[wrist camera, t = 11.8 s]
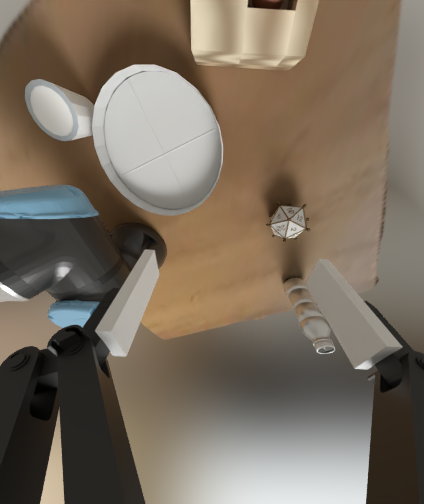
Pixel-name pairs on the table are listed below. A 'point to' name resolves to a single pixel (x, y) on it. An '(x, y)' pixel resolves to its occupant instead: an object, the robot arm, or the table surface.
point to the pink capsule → (267, 4)
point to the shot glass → (59, 110)
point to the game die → (288, 221)
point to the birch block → (250, 33)
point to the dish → (157, 139)
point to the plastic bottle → (309, 315)
